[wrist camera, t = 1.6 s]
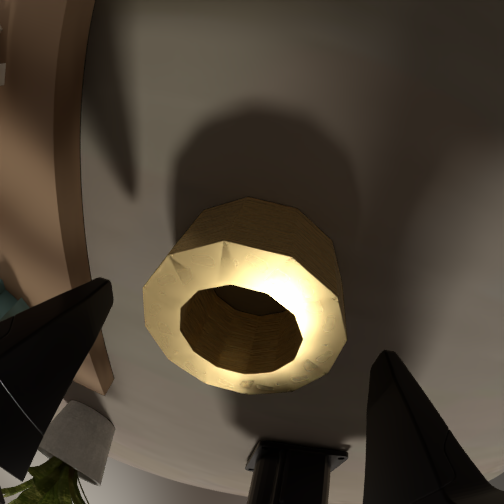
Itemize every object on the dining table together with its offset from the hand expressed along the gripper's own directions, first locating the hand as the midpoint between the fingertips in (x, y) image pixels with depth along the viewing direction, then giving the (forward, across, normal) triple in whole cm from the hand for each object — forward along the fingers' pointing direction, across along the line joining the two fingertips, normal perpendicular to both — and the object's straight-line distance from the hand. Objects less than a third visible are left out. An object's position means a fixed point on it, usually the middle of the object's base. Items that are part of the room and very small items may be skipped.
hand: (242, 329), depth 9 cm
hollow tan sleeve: (+3, 0, 0) cm, 3 cm away
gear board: (+3, +14, 0) cm, 14 cm away
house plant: (+3, +12, +22) cm, 26 cm away
